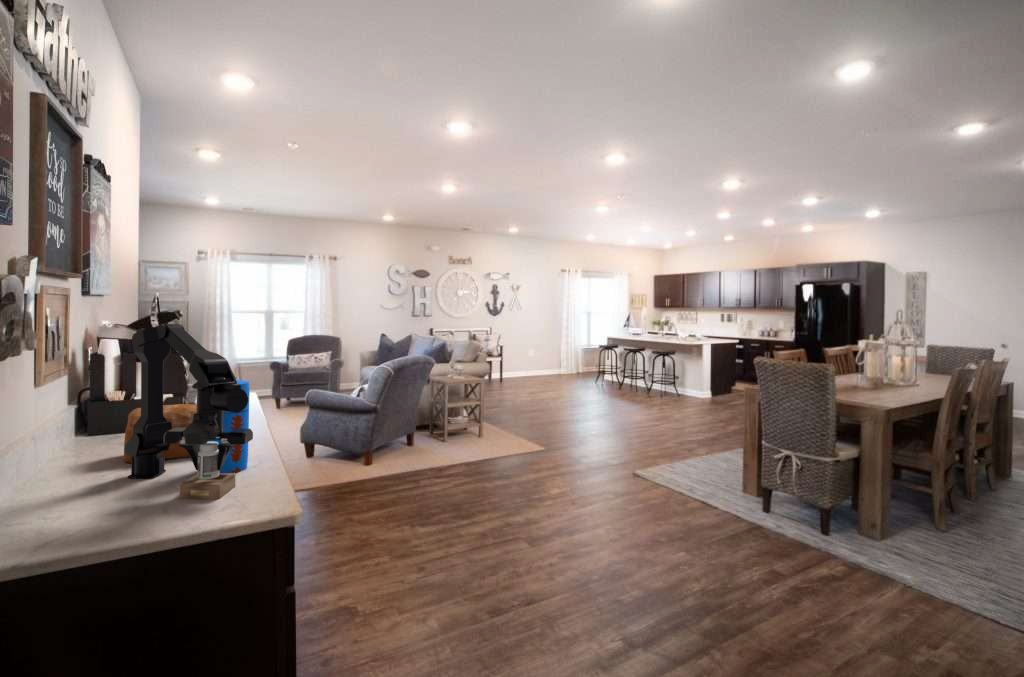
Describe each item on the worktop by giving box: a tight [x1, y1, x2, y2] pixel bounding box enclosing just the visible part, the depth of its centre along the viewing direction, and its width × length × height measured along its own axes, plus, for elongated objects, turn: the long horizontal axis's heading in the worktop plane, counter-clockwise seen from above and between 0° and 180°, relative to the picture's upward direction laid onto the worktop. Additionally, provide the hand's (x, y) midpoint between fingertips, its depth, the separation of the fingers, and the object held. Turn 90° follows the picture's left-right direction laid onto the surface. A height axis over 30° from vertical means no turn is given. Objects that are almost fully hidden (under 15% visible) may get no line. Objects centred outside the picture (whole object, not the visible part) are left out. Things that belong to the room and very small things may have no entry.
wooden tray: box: [179, 473, 237, 500], centre depth 128 cm, size 9×9×4 cm
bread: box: [123, 403, 197, 464], centre depth 160 cm, size 14×26×16 cm, turn 127°
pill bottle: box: [196, 441, 219, 479], centre depth 128 cm, size 5×5×8 cm
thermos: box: [208, 379, 251, 474], centre depth 147 cm, size 11×11×25 cm
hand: (208, 470), depth 128 cm, fingers closed on pill bottle, 5 cm apart
